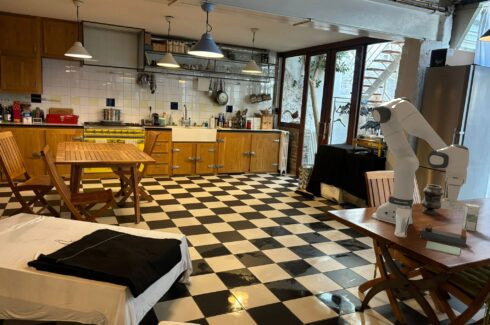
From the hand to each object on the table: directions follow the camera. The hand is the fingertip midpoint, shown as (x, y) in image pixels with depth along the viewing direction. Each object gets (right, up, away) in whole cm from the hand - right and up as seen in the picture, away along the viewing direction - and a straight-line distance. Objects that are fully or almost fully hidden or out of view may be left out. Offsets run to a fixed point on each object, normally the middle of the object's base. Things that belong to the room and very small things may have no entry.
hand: (451, 206), depth 175 cm
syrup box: (+26, -17, +29) cm, 42 cm away
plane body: (0, -18, +8) cm, 20 cm away
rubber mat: (-6, -20, -3) cm, 21 cm away
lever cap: (0, -1, 0) cm, 1 cm away
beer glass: (-20, -17, +12) cm, 29 cm away
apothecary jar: (+20, -11, +59) cm, 64 cm away
